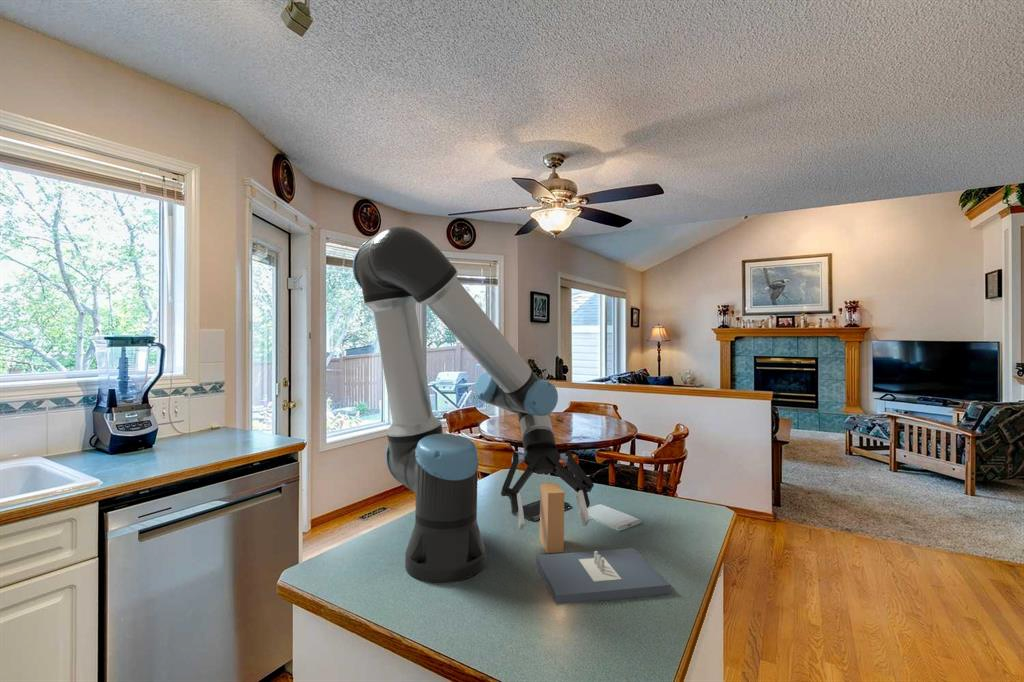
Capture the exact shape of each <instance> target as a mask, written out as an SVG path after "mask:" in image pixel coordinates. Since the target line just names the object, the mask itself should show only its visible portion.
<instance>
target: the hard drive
mask: <svg viewBox="0 0 1024 682" xmlns="http://www.w3.org/2000/svg"><path fill="white" fill-rule="evenodd" d="M587 510H588V515H589V518H591V519H594V520H596V521H598V522H600V523H602V524H605V525H607V526H609V527H611V528H610V529H612V528H614V529H616V530H620V529H623V530H625V529H624V528H626V529H628V528H627V527H629V528H631V527H630V526H632V527H634V526H637V525H640V524H641V521H642V519H640V518H638V517H635V516H632V515H630V514H627V513H625V512H622V511H620V510H618V509H617V510H616V509H614V508H612V507H608V506H607V505H604V504H601V503H600V504H595V505H592V506H589V507H588V508H587ZM579 513H580V511H578V514H579ZM598 522H597V523H598ZM600 523H599V524H600ZM639 523H640V524H639ZM602 524H601V525H602ZM636 524H637V525H636ZM605 525H604V526H605ZM633 525H634V526H633ZM607 526H606V527H607ZM609 527H608V528H609ZM614 529H613V530H614ZM616 530H615V531H616Z"/></svg>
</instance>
